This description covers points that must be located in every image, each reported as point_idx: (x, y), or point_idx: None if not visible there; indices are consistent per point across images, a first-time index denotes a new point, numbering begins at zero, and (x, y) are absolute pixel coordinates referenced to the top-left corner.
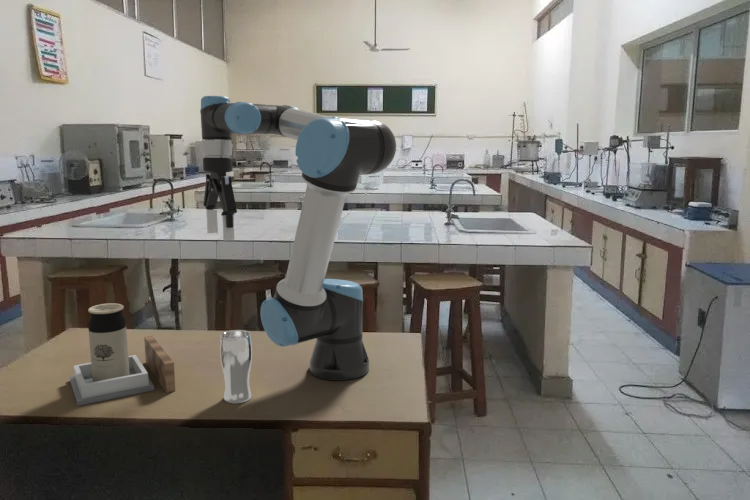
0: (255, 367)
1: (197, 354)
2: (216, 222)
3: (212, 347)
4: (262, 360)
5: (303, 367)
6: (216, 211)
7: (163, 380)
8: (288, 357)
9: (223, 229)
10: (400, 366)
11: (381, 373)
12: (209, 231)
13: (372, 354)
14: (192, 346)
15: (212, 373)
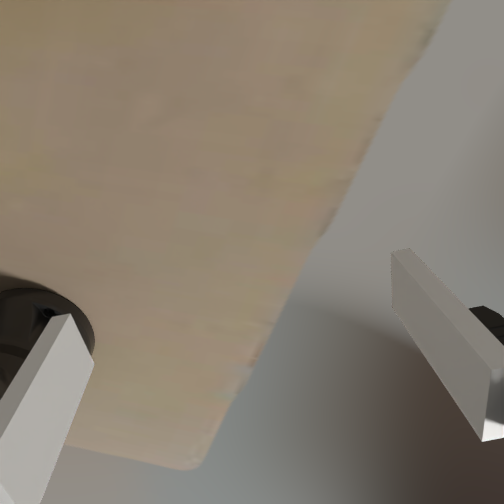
0: (76, 193)
1: (201, 70)
2: (423, 348)
3: (242, 116)
4: (117, 214)
5: (58, 281)
6: (471, 422)
7: None
8: (123, 266)
9: (29, 365)
10: None
11: None
12: (395, 266)
13: (104, 396)
14: (269, 63)
15: (54, 92)
